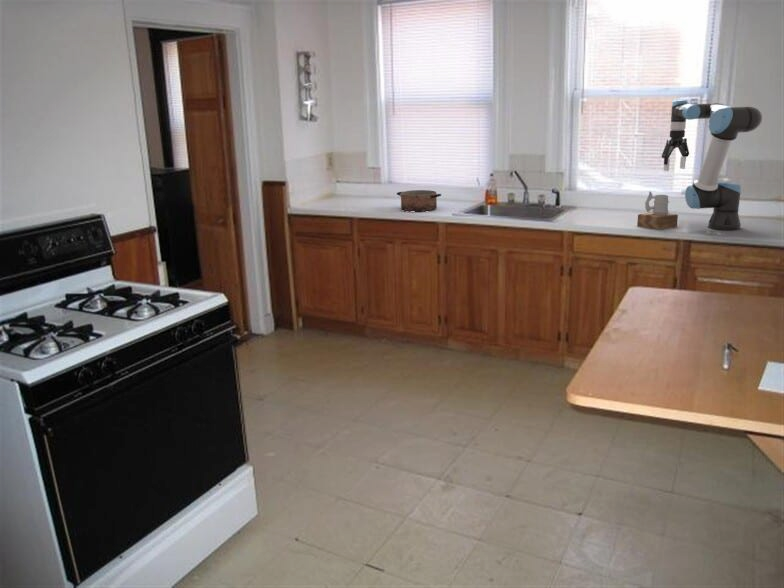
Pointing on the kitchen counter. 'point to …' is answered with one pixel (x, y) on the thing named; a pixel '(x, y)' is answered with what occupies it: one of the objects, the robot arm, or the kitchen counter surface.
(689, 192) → the robot arm
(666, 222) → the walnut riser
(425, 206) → the cooking pot
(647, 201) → the mug
